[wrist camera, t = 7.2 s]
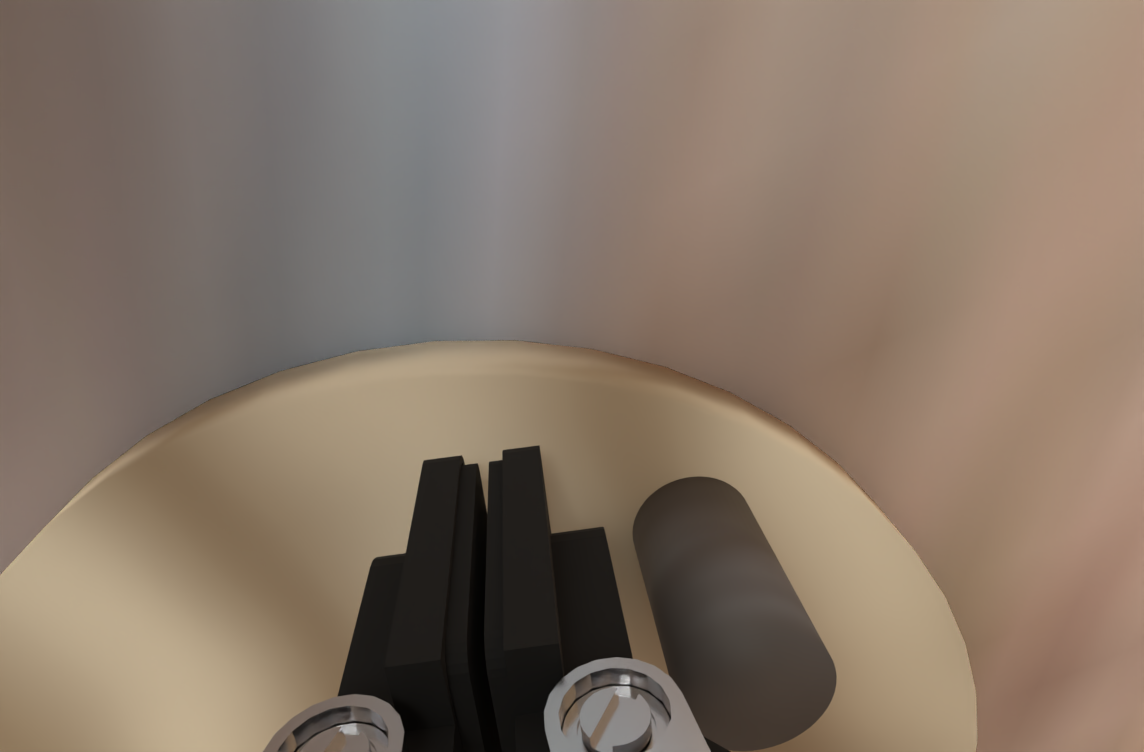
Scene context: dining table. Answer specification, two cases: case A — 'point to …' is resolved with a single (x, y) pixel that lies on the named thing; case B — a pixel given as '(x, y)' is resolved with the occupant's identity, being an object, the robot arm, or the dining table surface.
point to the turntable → (480, 433)
